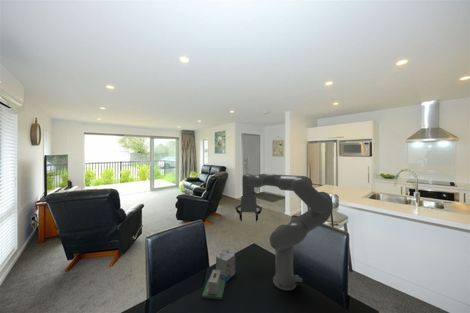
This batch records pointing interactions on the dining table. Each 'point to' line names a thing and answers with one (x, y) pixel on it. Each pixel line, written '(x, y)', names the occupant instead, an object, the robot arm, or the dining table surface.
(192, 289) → the dining table surface
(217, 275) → the white switch box
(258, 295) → the dining table surface
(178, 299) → the dining table surface
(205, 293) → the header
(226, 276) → the ink box
